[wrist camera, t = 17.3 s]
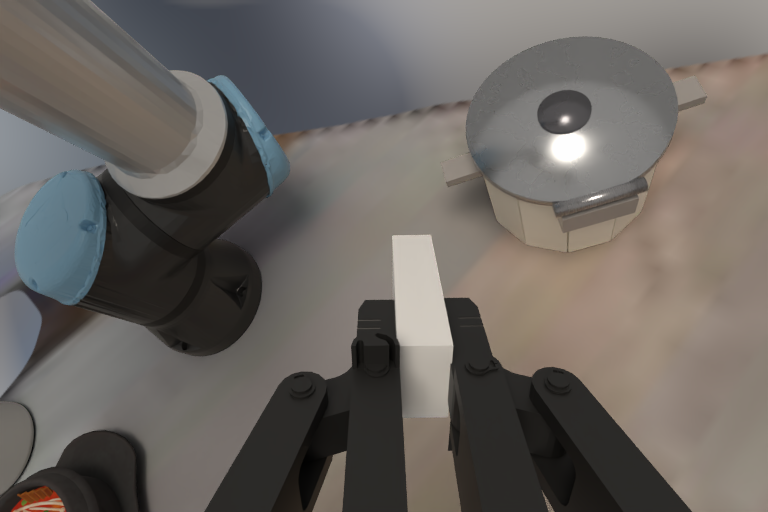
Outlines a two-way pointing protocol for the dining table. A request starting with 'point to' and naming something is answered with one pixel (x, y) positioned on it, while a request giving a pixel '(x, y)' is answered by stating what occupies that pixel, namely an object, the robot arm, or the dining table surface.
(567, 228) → the stockpot
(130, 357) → the dining table surface
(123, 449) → the casserole
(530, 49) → the lid
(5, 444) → the cylinder vase
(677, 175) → the dining table surface
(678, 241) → the dining table surface
